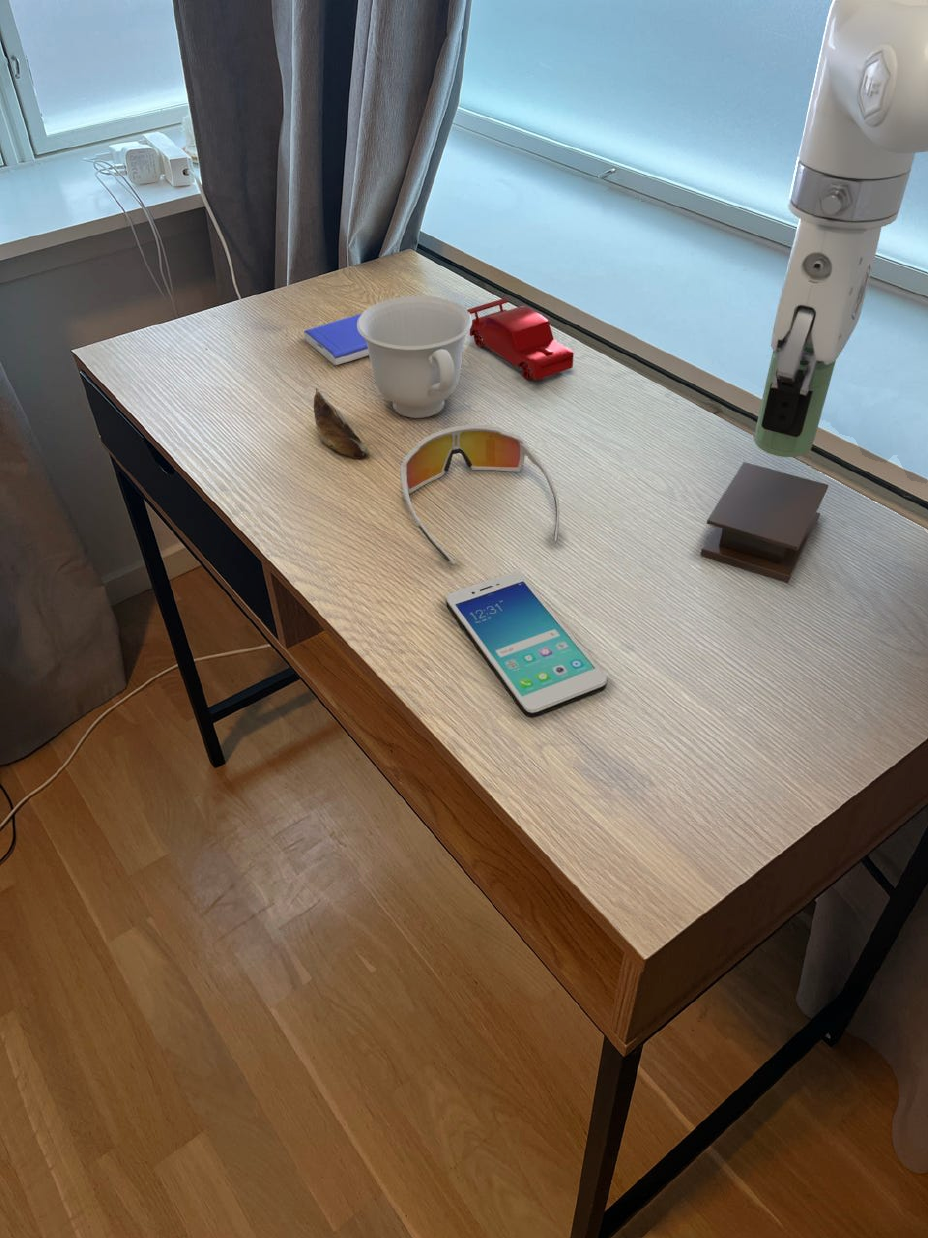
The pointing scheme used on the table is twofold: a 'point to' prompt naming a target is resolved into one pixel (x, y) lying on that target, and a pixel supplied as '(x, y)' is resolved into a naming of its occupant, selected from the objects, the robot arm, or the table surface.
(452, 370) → the teacup
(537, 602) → the smartphone
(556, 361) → the toy car
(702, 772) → the table surface
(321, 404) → the oyster shell
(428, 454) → the sunglasses
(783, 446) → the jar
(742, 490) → the stand
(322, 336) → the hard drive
